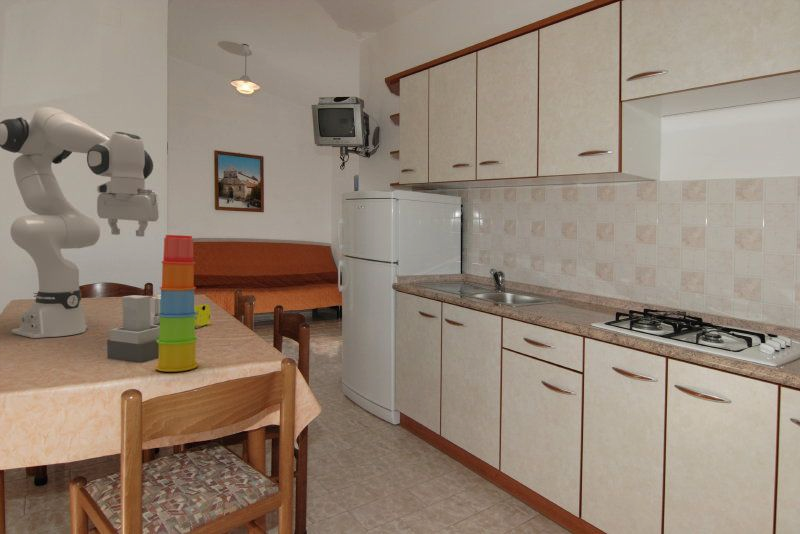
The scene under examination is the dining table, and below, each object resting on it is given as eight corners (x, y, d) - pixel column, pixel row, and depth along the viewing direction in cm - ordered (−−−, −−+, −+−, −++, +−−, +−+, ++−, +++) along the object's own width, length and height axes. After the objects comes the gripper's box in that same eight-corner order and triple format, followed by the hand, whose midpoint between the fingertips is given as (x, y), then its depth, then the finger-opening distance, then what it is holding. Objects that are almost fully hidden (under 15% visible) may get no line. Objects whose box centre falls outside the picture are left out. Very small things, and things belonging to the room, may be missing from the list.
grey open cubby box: (107, 360, 139) (106, 329, 139) (137, 352, 149) (136, 323, 148) (141, 365, 136) (140, 333, 135) (169, 356, 145) (169, 326, 144)
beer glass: (163, 348, 151) (162, 299, 149) (142, 347, 152) (142, 297, 151) (177, 343, 157) (177, 296, 156) (158, 342, 159) (157, 294, 158)
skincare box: (151, 338, 143) (150, 296, 142) (139, 341, 138) (138, 298, 138) (134, 336, 144) (134, 294, 143) (122, 339, 140) (121, 296, 139)
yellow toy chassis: (178, 333, 172) (178, 309, 171) (165, 332, 174) (165, 308, 173) (211, 325, 187) (211, 303, 186) (199, 324, 189) (198, 302, 188)
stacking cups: (148, 367, 131) (146, 234, 128) (187, 360, 139) (186, 234, 136) (166, 376, 124) (164, 235, 122) (205, 367, 132) (204, 235, 129)
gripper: (163, 190, 148) (163, 237, 150) (111, 188, 155) (111, 233, 156) (146, 188, 142) (146, 237, 144) (92, 186, 149) (92, 233, 150)
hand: (127, 235), depth 150 cm, fingers open, 8 cm apart
